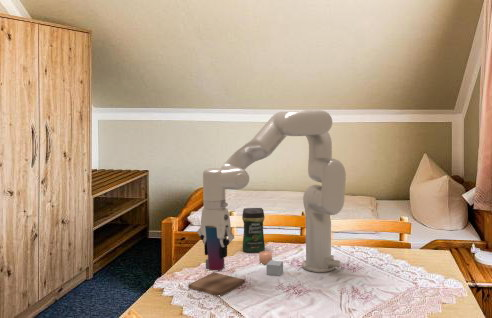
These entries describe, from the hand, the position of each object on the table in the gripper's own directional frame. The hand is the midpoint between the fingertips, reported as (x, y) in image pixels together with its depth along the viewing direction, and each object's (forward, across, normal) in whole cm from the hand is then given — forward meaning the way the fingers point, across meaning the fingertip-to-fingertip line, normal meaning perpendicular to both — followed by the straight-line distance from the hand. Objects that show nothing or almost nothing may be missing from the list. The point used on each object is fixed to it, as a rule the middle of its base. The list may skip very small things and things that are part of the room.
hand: (215, 255), depth 163 cm
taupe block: (+11, +11, -13) cm, 20 cm away
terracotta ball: (+11, -2, -29) cm, 31 cm away
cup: (+5, 0, 0) cm, 5 cm away
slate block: (+11, -11, -21) cm, 26 cm away
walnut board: (+11, 0, 0) cm, 11 cm away
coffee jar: (+11, +11, -40) cm, 43 cm away
